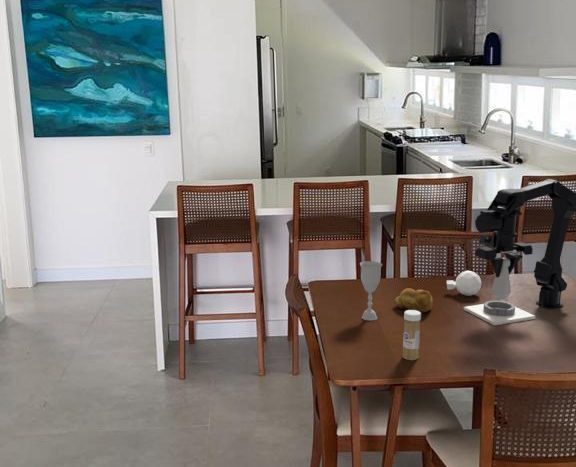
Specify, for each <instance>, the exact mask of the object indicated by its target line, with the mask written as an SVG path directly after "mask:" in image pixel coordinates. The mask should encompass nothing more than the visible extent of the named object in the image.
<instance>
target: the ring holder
mask: <svg viewBox="0 0 576 467" xmlns="http://www.w3.org/2000/svg"><path fill="white" fill-rule="evenodd" d="M463 310H464V311H465V312H468V313H469V314H472V315H474V317H477V318H479V319H481V320H483V321H485V322H487V323H488V324H490V325H493V326H499V325H505V324H511V323H512V324H513V323H517V322H518V323H519V322H524V321H529V320H535V319H536V315H534V314H532V313H530V312H527V311H525V310H523V309H521V308H518V307H516V306H515V305H514V304H513V303H511V302H508V301H503V300H487V301H485V302H484V303H480V304H474V305H467V306H463Z"/></svg>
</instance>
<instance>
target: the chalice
mask: <svg viewBox="0 0 576 467" xmlns="http://www.w3.org/2000/svg"><path fill="white" fill-rule="evenodd" d="M359 265H360V281H361V283H362V285H363V288H364V290H365V291H366V293H367V294H368V296H367V300H368V302H366V304H367V309H366V310H364V312H363V314H362V315H361V319H363V320H364V321H376V320H378V316H377V314H376V312H375V310H373V308H372V305H373V302H372V300H373V296H372V295H373V293H374V292H375V291H376V289H377V288H378V286H379V284H380V281H381V276H382V275H381V274H382V273H381V271H382V270H381V268H382V266H383V263H381V262H379V261H369V260H368V261H366V260H365V261H361V262H360V263H359Z"/></svg>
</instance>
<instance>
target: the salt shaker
mask: <svg viewBox="0 0 576 467" xmlns="http://www.w3.org/2000/svg"><path fill="white" fill-rule="evenodd" d="M502 258H503V259H504V260H503V264H502V268H501V273H500V276H499V277H496V276H495V277H494V281H493V285H492V289H491V291H492V294H493V297H494V298H496V299H498V300H506V299H508V298H509V296H510V294H511V293H512V292H511V291H512V290H511V280H510V275H509V271H508V267H509V266H510V260H509V259H507V258H506V257H502Z"/></svg>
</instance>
